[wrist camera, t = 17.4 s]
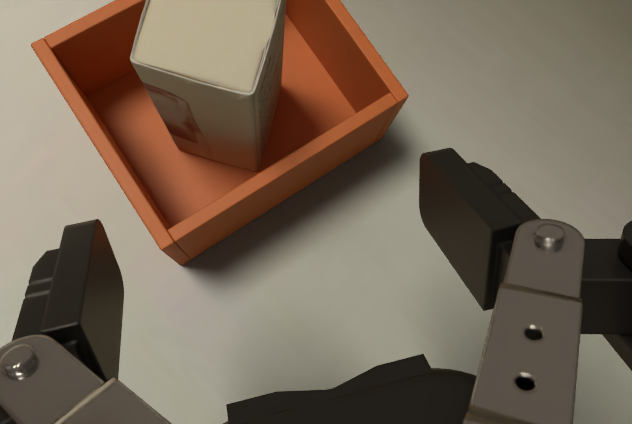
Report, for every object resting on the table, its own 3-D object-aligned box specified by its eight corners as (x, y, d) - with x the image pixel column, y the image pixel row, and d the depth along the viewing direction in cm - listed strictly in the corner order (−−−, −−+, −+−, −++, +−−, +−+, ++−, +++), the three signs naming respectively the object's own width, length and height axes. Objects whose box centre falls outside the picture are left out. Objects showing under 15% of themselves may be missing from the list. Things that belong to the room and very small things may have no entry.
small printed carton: (200, 61, 29) (170, -76, 19) (283, 83, 29) (296, -41, 19) (171, 155, 28) (122, 60, 18) (257, 177, 28) (256, 96, 18)
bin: (275, -12, 31) (279, -85, 25) (382, 138, 30) (409, 95, 24) (73, 98, 28) (29, 43, 23) (180, 266, 27) (161, 250, 22)
